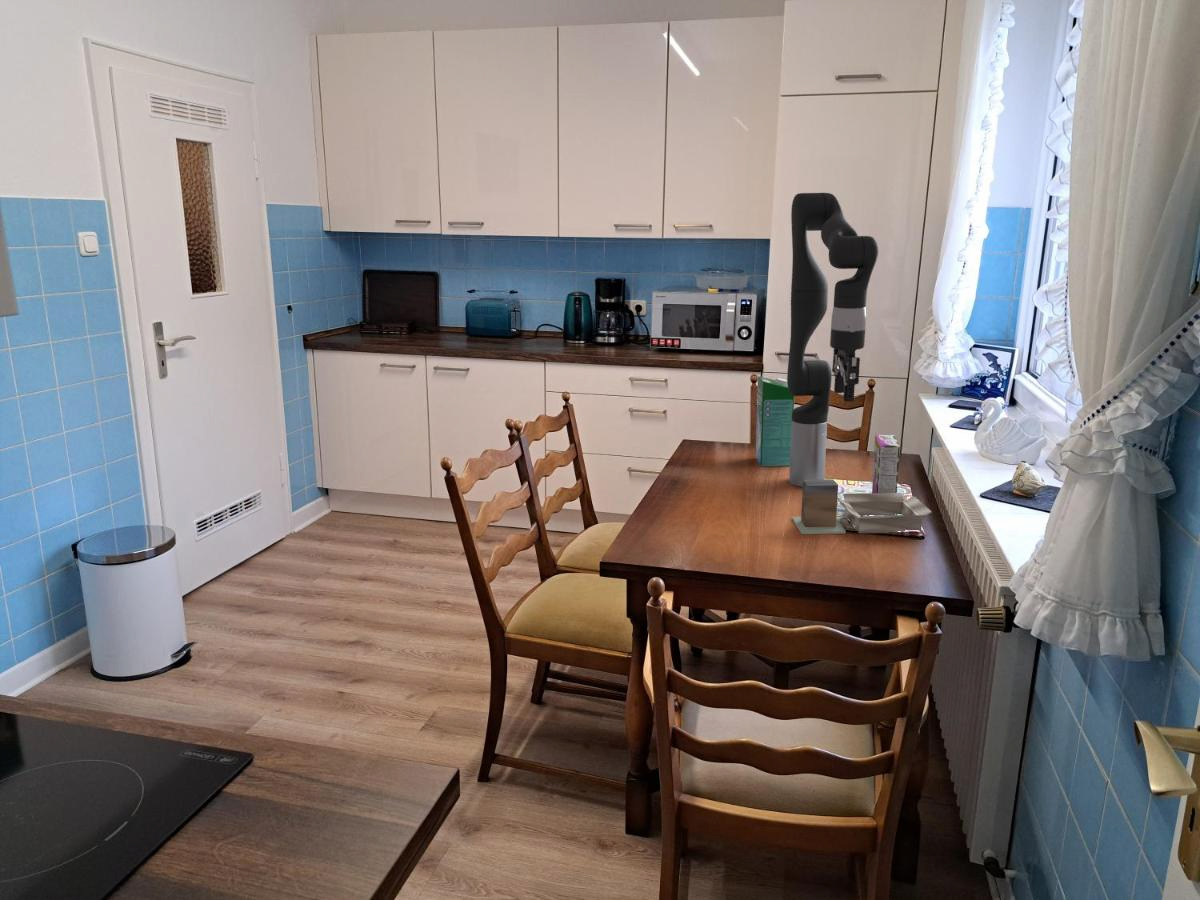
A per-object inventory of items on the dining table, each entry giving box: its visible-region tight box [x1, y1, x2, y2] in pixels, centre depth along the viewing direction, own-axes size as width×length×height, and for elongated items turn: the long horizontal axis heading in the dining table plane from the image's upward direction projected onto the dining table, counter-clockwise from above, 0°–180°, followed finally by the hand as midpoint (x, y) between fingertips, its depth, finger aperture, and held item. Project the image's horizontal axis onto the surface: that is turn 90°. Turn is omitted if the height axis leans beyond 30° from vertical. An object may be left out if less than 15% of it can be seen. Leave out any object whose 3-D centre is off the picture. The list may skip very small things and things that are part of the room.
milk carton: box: [755, 376, 795, 467], centre depth 248 cm, size 9×9×25 cm
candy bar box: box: [871, 434, 901, 493], centre depth 211 cm, size 11×5×16 cm, turn 168°
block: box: [800, 478, 839, 527], centre depth 197 cm, size 4×7×10 cm, turn 90°
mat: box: [791, 516, 847, 535], centre depth 198 cm, size 10×10×1 cm
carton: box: [837, 492, 932, 534], centre depth 198 cm, size 16×18×5 cm
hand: (843, 396), depth 197 cm, fingers open, 8 cm apart
